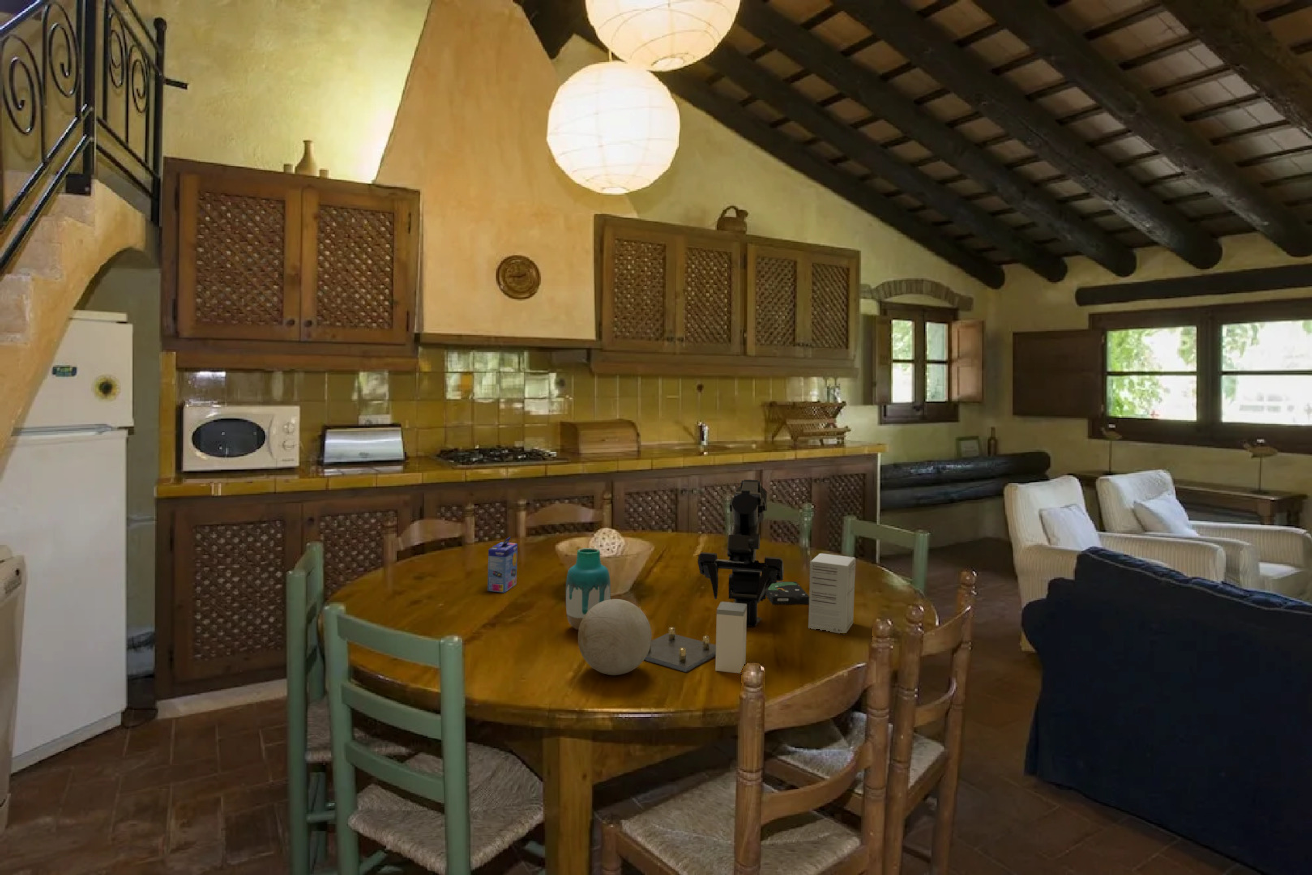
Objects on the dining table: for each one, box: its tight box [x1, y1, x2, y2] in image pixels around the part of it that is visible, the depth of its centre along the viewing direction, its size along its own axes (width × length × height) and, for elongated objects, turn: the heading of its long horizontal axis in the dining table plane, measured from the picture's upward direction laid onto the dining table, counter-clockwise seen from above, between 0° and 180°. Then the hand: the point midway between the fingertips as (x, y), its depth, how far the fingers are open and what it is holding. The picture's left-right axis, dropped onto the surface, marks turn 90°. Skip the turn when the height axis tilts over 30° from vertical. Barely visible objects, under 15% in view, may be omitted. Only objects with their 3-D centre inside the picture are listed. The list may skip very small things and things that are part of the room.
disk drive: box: [766, 581, 809, 605], centre depth 210 cm, size 10×3×15 cm
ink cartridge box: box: [487, 536, 518, 594], centre depth 214 cm, size 10×6×14 cm, turn 170°
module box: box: [714, 601, 747, 674], centre depth 158 cm, size 6×6×13 cm
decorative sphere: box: [577, 598, 652, 676], centre depth 154 cm, size 15×15×15 cm
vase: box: [565, 547, 611, 631], centre depth 180 cm, size 11×11×19 cm
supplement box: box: [807, 553, 856, 634], centre depth 185 cm, size 10×9×17 cm
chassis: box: [644, 626, 716, 673], centre depth 166 cm, size 15×15×4 cm
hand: (736, 600), depth 163 cm, fingers open, 9 cm apart
